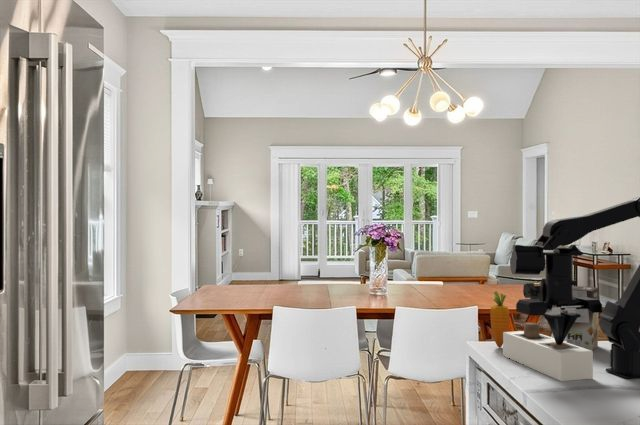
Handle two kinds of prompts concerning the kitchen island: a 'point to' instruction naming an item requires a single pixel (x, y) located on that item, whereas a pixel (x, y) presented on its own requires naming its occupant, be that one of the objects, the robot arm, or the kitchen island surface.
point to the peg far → (531, 330)
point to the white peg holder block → (549, 356)
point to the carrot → (499, 319)
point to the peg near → (558, 345)
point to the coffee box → (584, 322)
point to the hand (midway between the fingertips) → (559, 344)
